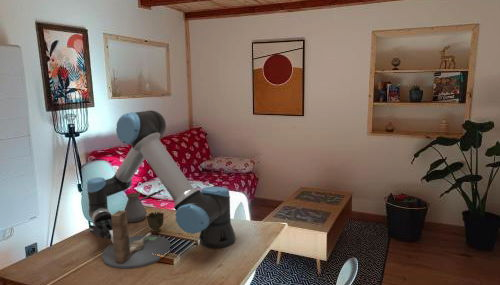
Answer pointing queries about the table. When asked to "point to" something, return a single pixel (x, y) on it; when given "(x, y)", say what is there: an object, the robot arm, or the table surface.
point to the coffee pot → (136, 207)
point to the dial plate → (139, 252)
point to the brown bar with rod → (123, 237)
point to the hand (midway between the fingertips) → (115, 239)
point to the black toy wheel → (155, 221)
